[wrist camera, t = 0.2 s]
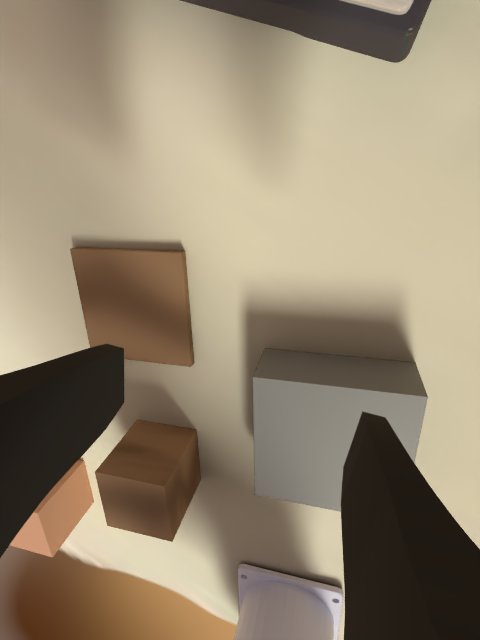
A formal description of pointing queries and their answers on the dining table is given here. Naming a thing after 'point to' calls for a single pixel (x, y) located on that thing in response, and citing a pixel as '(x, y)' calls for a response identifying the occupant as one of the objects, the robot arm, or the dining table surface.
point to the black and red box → (339, 21)
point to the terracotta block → (57, 513)
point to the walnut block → (150, 479)
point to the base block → (325, 418)
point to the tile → (136, 302)
